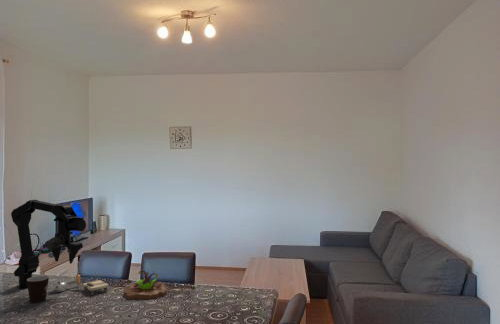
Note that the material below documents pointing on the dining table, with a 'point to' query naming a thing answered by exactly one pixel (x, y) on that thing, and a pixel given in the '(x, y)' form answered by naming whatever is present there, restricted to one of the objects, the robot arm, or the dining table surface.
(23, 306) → the dining table surface
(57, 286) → the cam capstan
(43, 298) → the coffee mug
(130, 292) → the plant
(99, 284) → the level stand
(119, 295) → the dining table surface
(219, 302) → the dining table surface
